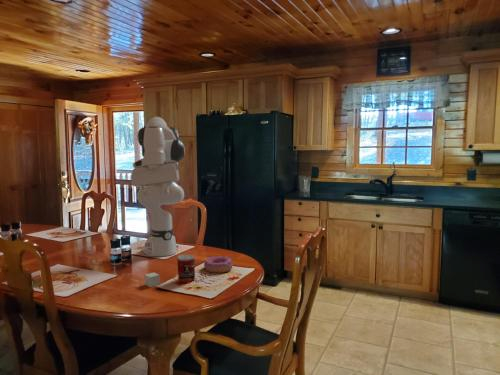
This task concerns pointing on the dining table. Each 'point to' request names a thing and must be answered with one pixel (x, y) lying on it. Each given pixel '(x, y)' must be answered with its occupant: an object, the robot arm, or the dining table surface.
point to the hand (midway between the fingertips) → (155, 194)
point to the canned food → (186, 268)
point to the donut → (218, 264)
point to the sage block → (152, 279)
